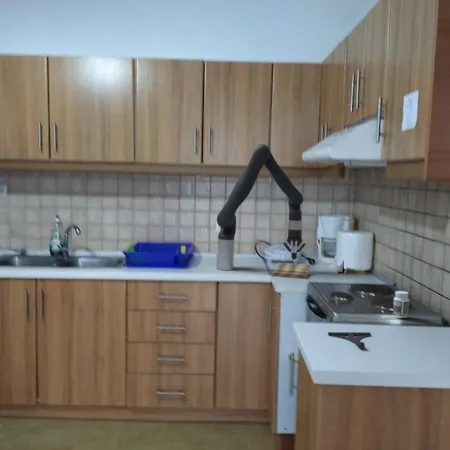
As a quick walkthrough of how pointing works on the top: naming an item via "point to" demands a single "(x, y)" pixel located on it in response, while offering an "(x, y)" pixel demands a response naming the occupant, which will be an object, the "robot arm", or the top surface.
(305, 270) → the oak plank
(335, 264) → the white crumpled paper
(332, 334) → the bracket
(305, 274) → the walnut plank
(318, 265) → the top surface
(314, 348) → the top surface
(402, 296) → the pill bottle
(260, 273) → the top surface
